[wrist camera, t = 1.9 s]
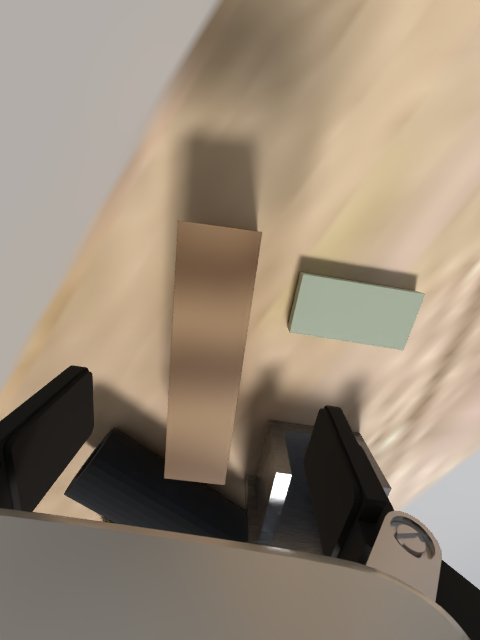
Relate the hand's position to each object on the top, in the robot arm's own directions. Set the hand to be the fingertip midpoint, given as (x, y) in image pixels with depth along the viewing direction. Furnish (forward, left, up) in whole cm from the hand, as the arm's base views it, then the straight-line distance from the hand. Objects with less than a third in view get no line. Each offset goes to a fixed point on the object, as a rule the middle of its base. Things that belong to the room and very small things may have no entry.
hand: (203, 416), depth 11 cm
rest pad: (+3, -9, -9) cm, 13 cm away
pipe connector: (-17, +4, -10) cm, 20 cm away
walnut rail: (-1, 0, -9) cm, 9 cm away
